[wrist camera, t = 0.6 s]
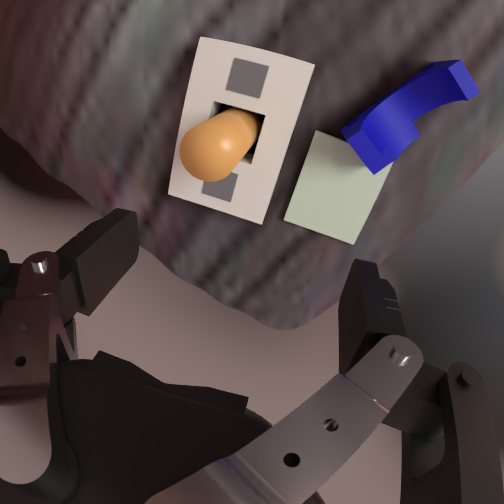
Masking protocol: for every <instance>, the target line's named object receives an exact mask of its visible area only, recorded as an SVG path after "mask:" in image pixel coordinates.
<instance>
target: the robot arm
mask: <svg viewBox="0 0 504 504" xmlns="http://www.w3.org/2000/svg"><path fill="white" fill-rule="evenodd" d="M138 252H139V240H138V220H137V214H136V212H134V211H130V210H125V209H120V208H116V209H114V210H113V211H112V212H110V213H109V214H108V215H106V216H105V217H104V218H102V219H100V220H97V221H95V222H92V223H91V224H89V225H88V226H87V227H86V228H84V229H83V231H81V232H79V233H78V234H77V235H76V236H74V237H73V238H72V239H71V240H70V241H68V242H67V243H66V244H65V245H63V246H62V247H61V248H60V249H58V250H57V251H56V252H55V253H54V252H50V251H43V252H38V253H35V254H32V255H30V256H29V257H28V258H26V259H25V260H24V261H23V263H22V264H19V263H10V261H9V257H8V254H7V252H6V251H5V250H3V249H0V504H325V502H324V501H323V499H322V498H321V496H320V495H319V493H318V492H317V490H318V489H319V488H320V487H321V486H322V485H323V484H324V483H325V482H326V481H327V480H328V479H329V478H330V477H331V476H332V475H333V474H334V473H335V472H336V471H337V470H338V469H339V468H340V467H341V466H342V465H343V464H344V463H345V462H346V461H347V460H348V459H349V458H350V457H351V456H352V455H353V454H354V452H355V451H356V450H357V449H358V448H359V447H360V446H361V445H362V444H363V443H364V442H365V440H366V439H367V438H368V437H369V436H370V435H371V433H372V432H373V431H374V430H375V428H376V427H377V426H378V425H379V424H380V423H383V424H386V425H388V426H391V427H393V428H396V429H399V430H401V431H402V473H401V498H400V504H504V491H503V481H502V472H501V463H500V456H499V450H498V445H497V438H496V433H495V428H494V423H493V418H492V413H491V409H490V405H489V400H488V396H487V392H486V388H485V385H484V381H483V379H482V377H481V375H480V374H479V372H478V371H477V370H476V369H475V368H473V367H472V366H470V365H469V364H466V363H463V362H456V363H453V364H452V365H450V367H449V368H448V369H447V370H446V372H445V371H443V370H440V369H438V368H436V367H433V366H431V365H428V364H426V363H424V362H423V355H422V353H421V351H420V349H419V348H418V346H417V345H416V344H415V343H413V342H412V341H411V340H409V339H407V337H406V333H405V328H404V324H403V320H402V316H401V312H400V311H399V309H400V308H399V305H398V302H397V297H396V293H395V290H394V289H393V287H392V286H391V285H390V283H389V282H388V281H387V280H385V279H381V278H380V277H379V272H378V268H377V264H376V263H374V262H369V261H365V260H361V259H355V260H354V261H353V263H352V266H351V269H350V272H349V275H348V277H347V280H346V283H345V286H344V289H343V291H342V294H341V297H340V301H339V308H338V320H339V374H337V375H336V376H335V377H333V378H332V379H331V380H330V381H329V382H328V383H326V384H325V385H324V386H323V387H322V388H321V389H319V390H318V391H317V392H316V393H315V394H313V395H312V396H311V397H310V398H309V399H307V400H306V401H305V402H304V403H302V404H301V405H300V406H299V407H297V408H296V409H295V410H294V411H292V412H291V413H290V414H288V415H287V416H286V417H285V418H283V419H282V420H281V421H279V422H278V423H277V424H275V425H274V426H272V424H271V423H269V422H268V421H267V420H265V419H264V418H263V417H261V416H260V415H258V414H256V413H255V412H253V411H251V410H249V409H247V408H246V406H247V402H248V397H246V396H242V395H238V394H234V393H230V392H226V391H222V390H218V389H214V388H211V387H201V386H188V385H175V384H166V383H163V382H161V381H160V380H158V379H156V378H155V377H153V376H151V375H150V374H148V373H147V372H145V371H143V370H142V369H141V368H139V367H137V366H136V365H134V364H133V363H131V362H129V361H126V360H123V359H120V358H118V357H115V356H113V355H110V354H108V353H105V352H103V351H99V352H98V353H97V354H96V356H95V357H94V359H93V360H90V359H78V349H77V337H76V323H75V318H74V315H75V314H76V312H79V313H82V314H84V315H87V316H90V315H91V314H92V312H93V311H94V310H95V309H96V307H97V306H98V305H99V304H100V303H101V301H102V300H103V299H104V298H105V297H106V295H107V294H108V293H109V292H110V290H112V288H113V287H114V286H115V285H116V283H118V281H119V280H120V279H121V278H122V277H123V276H124V274H125V273H126V272H127V271H128V270H129V269H130V268H131V266H132V265H133V264H134V263H135V261H136V259H137V257H138Z"/></svg>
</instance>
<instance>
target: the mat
mask: <svg viewBox="0 0 504 504" xmlns="http://www.w3.org/2000/svg"><path fill="white" fill-rule="evenodd" d="M392 164H393V162H392V163H390V164H389V165H388V166H386V167H385V168H383V169H382V170H381V171H379V172H378V173H376V174H375V175H373V174H372V172H371V171H369V170H368V168H367V167H366V165H365V164H364V163H363V161H362V160H361V159H360V157H359V156H358V155H357V153H356V152H355V151H354V149H353V148H352V147H351V146H350V144H349V143H348V142H347V141H344V140H341V139H339V138H336V137H334V136H331V135H328V134H326V133H323V132H320V131H317V130H316V131H315V134H314V137H313V140H312V142H311V145H310V148H309V151H308V154H307V156H306V159H305V162H304V165H303V168H302V170H301V173H300V176H299V179H298V181H297V184H296V187H295V190H294V192H293V195H292V198H291V201H290V203H289V206H288V209H287V211H286V214H285V217H284V220H285V221H288V222H291V223H294V224H296V225H299V226H302V227H305V228H308V229H311V230H314V231H316V232H319V233H322V234H325V235H328V236H330V237H333V238H336V239H339V240H342V241H344V242H347V243H350V244H352V245H354V243H355V241H356V239H357V237H358V235H359V233H360V231H361V229H362V227H363V225H364V223H365V221H366V219H367V217H368V215H369V213H370V211H371V209H372V207H373V205H374V203H375V200H376V198H377V196H378V194H379V192H380V190H381V188H382V186H383V183H384V181H385V179H386V177H387V175H388V173H389V170H390V168H391V166H392Z"/></svg>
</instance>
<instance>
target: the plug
mask: <svg viewBox="0 0 504 504" xmlns="http://www.w3.org/2000/svg"><path fill="white" fill-rule="evenodd" d="M261 128H262V127H261V121H260V118H259V116H258V115H257V114H256V112H253V111H249V110H246V109H242V108H239V107H235V106H234V107H231V108H229V109H227V110H225V111H223V112H221V113H219V114H218V115H216V116H214V117H212V118H210V119H208V120H206V121H204V122H202V123H201V124H199V125H197V126H195V127H193V128H192V129H190V130H189V131H188V132H187V133H186V134H185V135H184V137H183V138H182V141H181V143H180V149H179V153H180V159H181V162H182V164H183V166H184V168H185V169H186V170H187V171H188V172H189V173H190V174H191V175H192V176H193V177H195V178H197V179H199V180H202V181H207V182H214V181H219V180H221V179H223V178H225V177H227V176H228V175H229V174H230V173H231V172H232V171H233V169H234V168H235V167H236V165H237V164H238V163H239V162H240V160H241V159H242V158H243V156H244V155H245V154H246V153H247V151H248V150H249V149H250V148H251V146H252V145H253V144H254V143H255V141H256V140H257V139H258V138H259V136H260V133H261Z"/></svg>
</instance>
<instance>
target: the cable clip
mask: <svg viewBox="0 0 504 504" xmlns="http://www.w3.org/2000/svg"><path fill="white" fill-rule="evenodd" d="M479 92H480V91H479V89H478V87H477V86H476V84H475V82H474V81H473V79H472V77H471V76H470V74H469V72H468V71H467V69H466V67H465V66H464V64H463V63H462V61H461V60H449V61H439V62H433V63H432V64H430V65H429V66H427V67H426V68H425V69H423V70H422V71H420V72H419V73H417V74H416V75H414V76H413V77H412V78H410V79H409V80H407V81H406V82H404V83H403V84H402V85H400V86H399V87H397V88H396V89H394V90H393V91H392V92H390V93H389V94H387V95H386V96H385V97H383V98H382V99H380V100H379V101H378V102H376V103H375V104H374V105H372V106H371V107H369V108H368V109H367V110H365V111H364V112H363V113H361V114H360V115H359V116H357V117H356V118H354V119H353V120H352V121H350V122H349V123H348V124H346V125H345V126H344V127H342V128H341V129H340V131H341V132H342V134H343V135H344V137H345V139H346V140H347V142H348V143H349V144H350V146H351V147H352V148H353V149H354V151H355V152H356V153H357V155H358V156H359V157H360V159H361V160H362V161H363V163H364V164H365V165H366V167H367V168H368V170H369V171H371V172H372V174H373V175H375V174H376V173H378V172H379V171H381V170H382V169H383V168H385V167H386V166H388V165H389V164H390V163H392V162H393V161H395V160H396V159H397V158H398V157H399V155H400V154H401V153H402V151H403V150H404V149H405V148H406V147H407V146H408V145H409V144H410V143H411V142H413V141H414V140H415V139H416V138H417V137H419V136H420V133H419V132H418V130H417V129H416V127H415V125H414V124H413V122H412V121H413V120H415V119H416V118H418V117H419V116H421V115H423V114H424V113H426V112H428V111H430V110H432V109H434V108H436V107H438V106H441V105H443V104H446V103H450V102H453V101H459V100H467V101H468V100H470V99H471V98H473V97H474V96H475V95H477V94H478V93H479Z"/></svg>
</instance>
